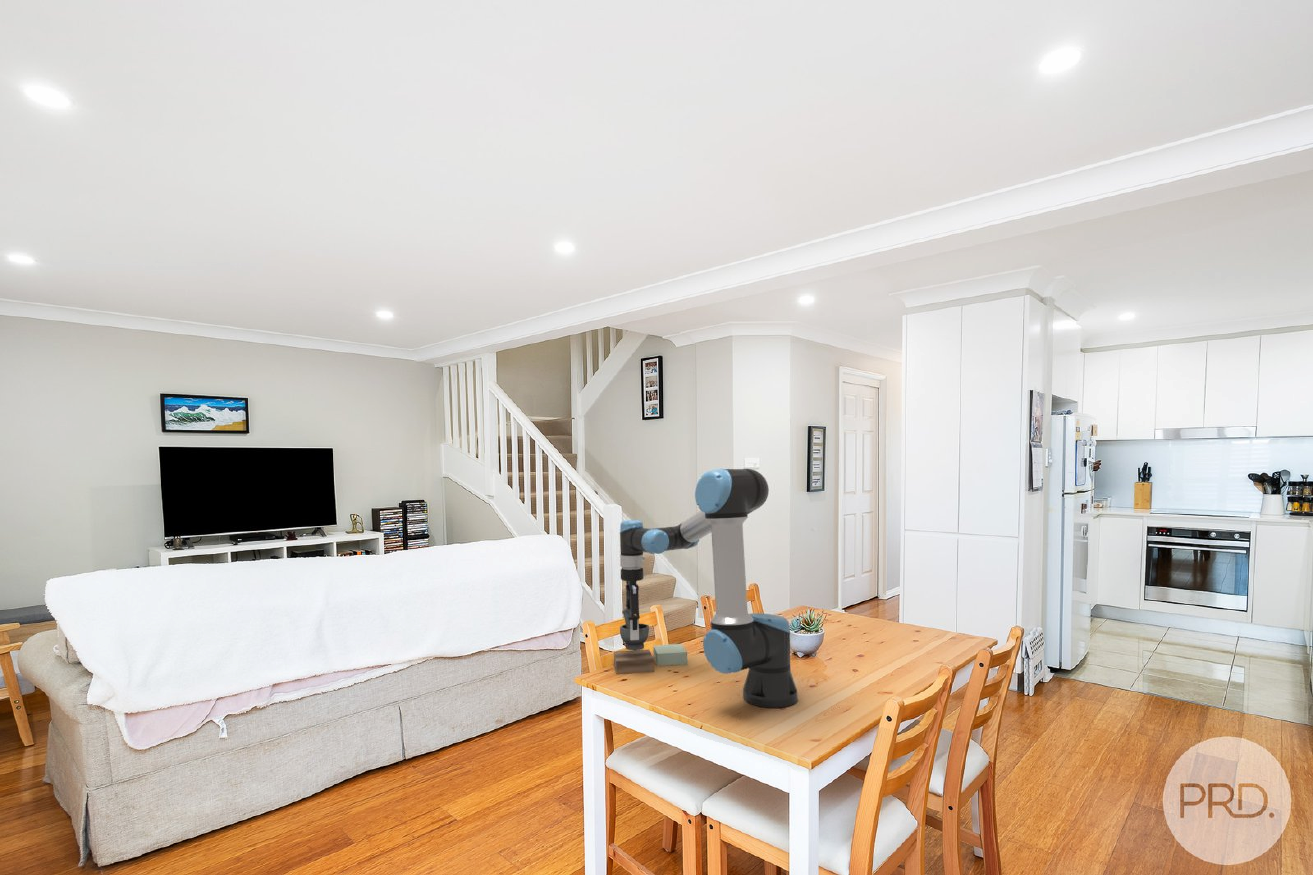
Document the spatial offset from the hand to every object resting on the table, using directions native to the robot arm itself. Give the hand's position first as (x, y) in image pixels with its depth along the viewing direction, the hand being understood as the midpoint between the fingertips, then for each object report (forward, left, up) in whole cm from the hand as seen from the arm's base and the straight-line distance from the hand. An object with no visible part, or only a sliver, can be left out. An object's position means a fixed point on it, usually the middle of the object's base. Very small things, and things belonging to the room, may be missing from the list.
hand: (632, 635), depth 211 cm
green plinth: (+5, -13, -11) cm, 18 cm away
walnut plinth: (0, 0, -11) cm, 11 cm away
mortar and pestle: (0, 0, -4) cm, 4 cm away
